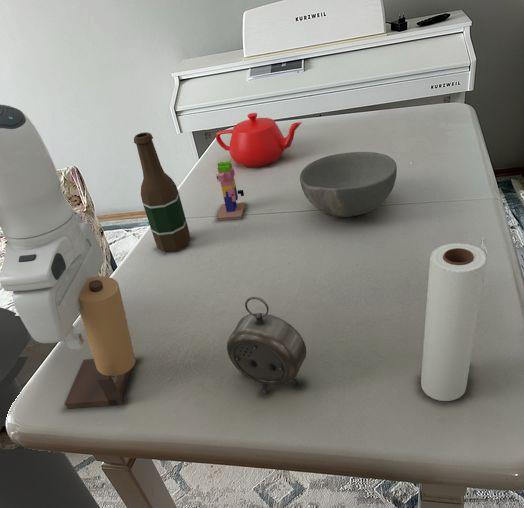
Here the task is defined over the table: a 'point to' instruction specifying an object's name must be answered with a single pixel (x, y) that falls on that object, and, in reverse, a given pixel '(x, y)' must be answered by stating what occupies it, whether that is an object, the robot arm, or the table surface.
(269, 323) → the alarm clock
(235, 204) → the figurine
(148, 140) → the beer bottle
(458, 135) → the table surface
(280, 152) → the teapot
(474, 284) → the paper towel roll
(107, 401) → the stand
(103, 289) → the tan cylinder
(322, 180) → the bowl
